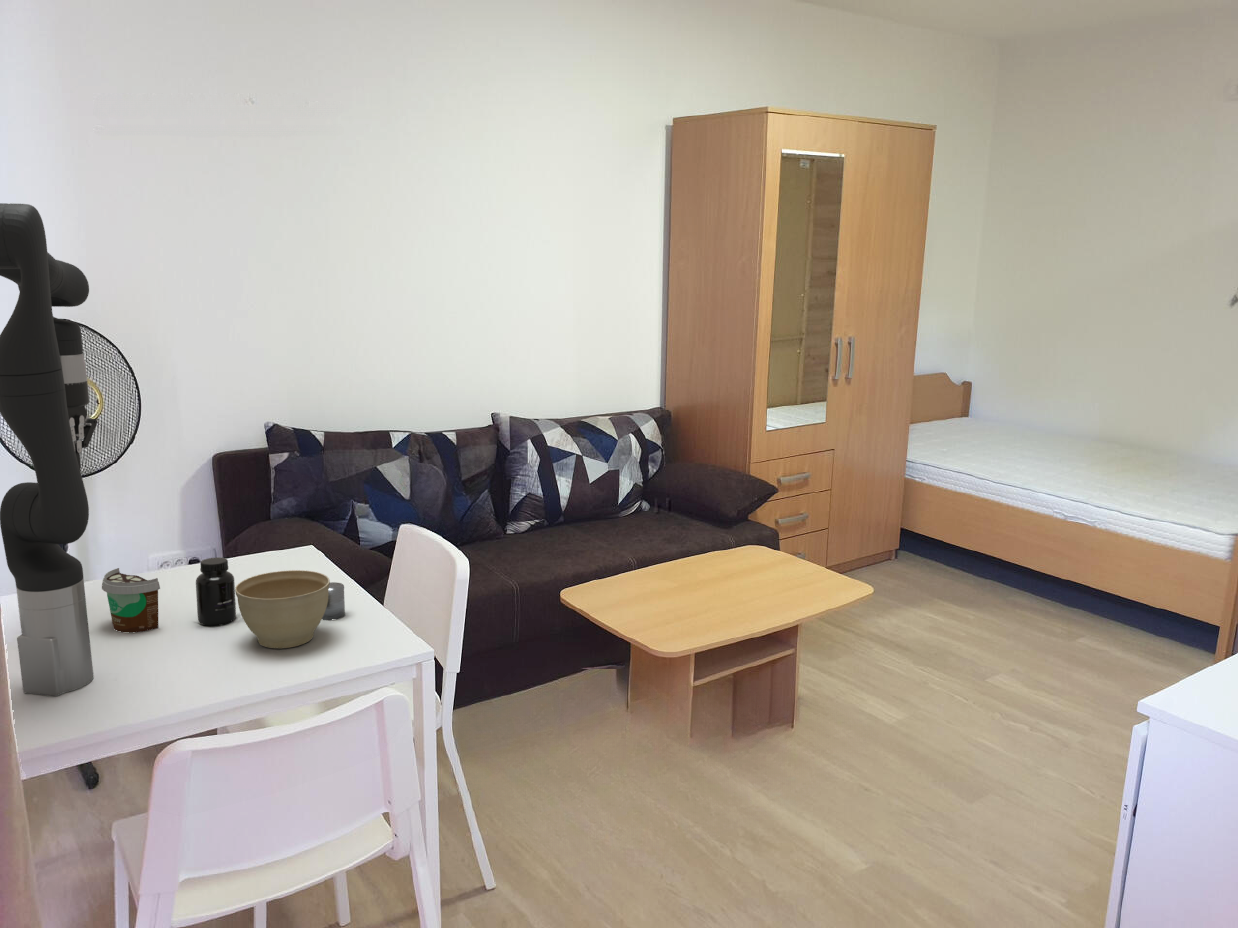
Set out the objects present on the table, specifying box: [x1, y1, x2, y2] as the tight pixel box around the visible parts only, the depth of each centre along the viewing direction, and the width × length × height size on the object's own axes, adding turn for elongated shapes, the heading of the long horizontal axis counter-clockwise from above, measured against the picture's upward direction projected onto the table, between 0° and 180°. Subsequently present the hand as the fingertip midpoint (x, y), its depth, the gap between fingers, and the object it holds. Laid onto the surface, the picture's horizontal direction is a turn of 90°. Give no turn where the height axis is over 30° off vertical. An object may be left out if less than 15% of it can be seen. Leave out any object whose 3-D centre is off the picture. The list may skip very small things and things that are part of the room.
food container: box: [101, 567, 161, 634], centre depth 174 cm, size 12×6×10 cm, turn 62°
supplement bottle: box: [195, 557, 237, 627], centre depth 178 cm, size 7×7×12 cm
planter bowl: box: [235, 569, 331, 649], centre depth 170 cm, size 16×16×11 cm
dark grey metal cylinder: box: [322, 581, 346, 621], centre depth 183 cm, size 5×5×6 cm
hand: (72, 473), depth 171 cm, fingers closed
